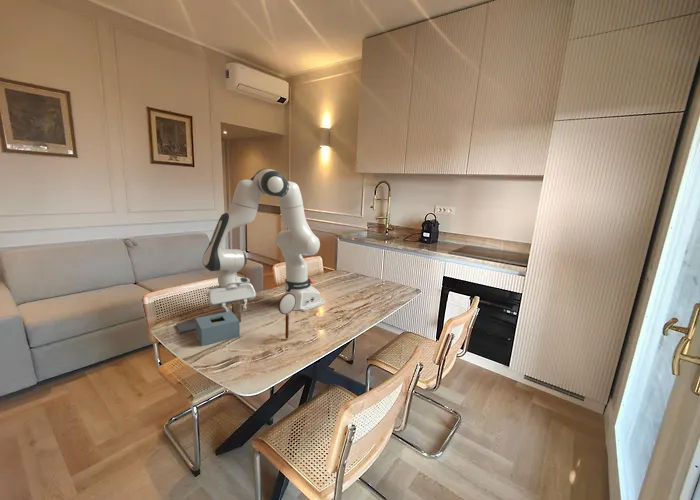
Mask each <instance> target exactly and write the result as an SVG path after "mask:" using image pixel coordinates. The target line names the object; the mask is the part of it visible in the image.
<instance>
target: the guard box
mask: <svg viewBox="0 0 700 500" xmlns="http://www.w3.org/2000/svg"><path fill="white" fill-rule="evenodd" d="M194 320H196V331H195V334H196V336H197V339H198V340H199V342H200V344H201V347H204V346H209V345H212V344H216V343H219V342H224V341H227V340H232V339H235V338H239V337H240V336H241V335H240V334H241V333H240V329H241V328H240V322H239V320H238V318H237V317H236V316H235V315H234V314H233V313H232V310H230V311H228V312H226V311H224V312H219V313H215V314H209V315H205V316H200V317H199V316H198V317H195V319H194ZM219 321H220V322H219ZM214 322H216V323H214Z"/></svg>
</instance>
